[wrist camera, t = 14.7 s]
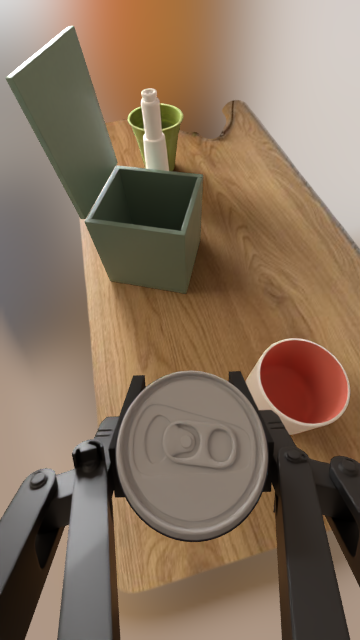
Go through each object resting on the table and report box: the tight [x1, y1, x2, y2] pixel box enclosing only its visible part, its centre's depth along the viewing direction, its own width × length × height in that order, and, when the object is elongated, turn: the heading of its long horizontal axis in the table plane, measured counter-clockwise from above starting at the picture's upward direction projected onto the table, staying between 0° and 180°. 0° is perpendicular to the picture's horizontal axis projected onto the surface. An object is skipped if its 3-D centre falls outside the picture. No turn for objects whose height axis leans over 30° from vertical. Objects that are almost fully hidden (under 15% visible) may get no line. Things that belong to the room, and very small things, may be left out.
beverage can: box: [115, 371, 269, 542], centre depth 14 cm, size 6×6×12 cm
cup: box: [246, 338, 350, 435], centre depth 34 cm, size 10×10×10 cm
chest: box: [85, 166, 203, 294], centre depth 45 cm, size 15×14×14 cm
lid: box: [6, 26, 117, 219], centre depth 33 cm, size 15×14×1 cm
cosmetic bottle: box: [141, 88, 169, 171], centre depth 48 cm, size 6×6×22 cm
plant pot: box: [128, 104, 183, 171], centre depth 61 cm, size 12×12×11 cm
